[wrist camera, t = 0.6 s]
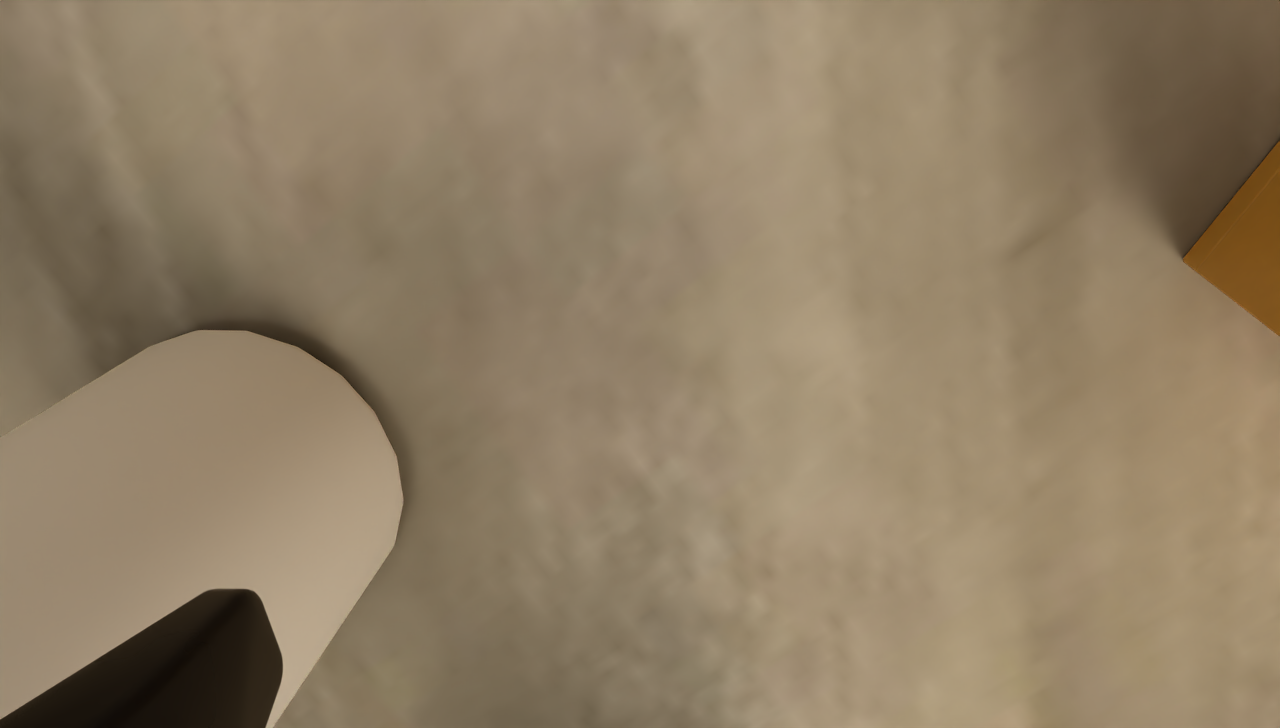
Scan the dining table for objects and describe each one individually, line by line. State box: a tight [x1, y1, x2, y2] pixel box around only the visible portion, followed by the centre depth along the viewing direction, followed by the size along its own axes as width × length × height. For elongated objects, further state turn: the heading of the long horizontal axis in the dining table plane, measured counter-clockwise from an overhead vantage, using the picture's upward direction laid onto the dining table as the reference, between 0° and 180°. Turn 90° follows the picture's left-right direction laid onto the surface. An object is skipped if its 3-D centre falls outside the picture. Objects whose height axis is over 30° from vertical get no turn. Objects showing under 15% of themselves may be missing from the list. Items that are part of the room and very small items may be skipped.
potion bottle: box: [0, 330, 404, 728], centre depth 18 cm, size 8×8×18 cm
